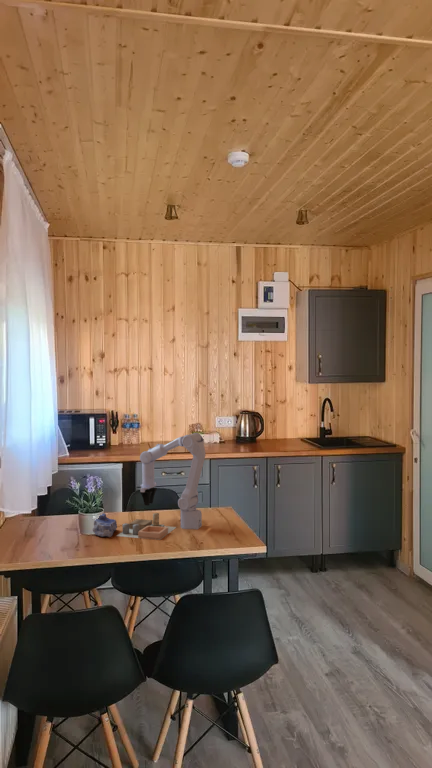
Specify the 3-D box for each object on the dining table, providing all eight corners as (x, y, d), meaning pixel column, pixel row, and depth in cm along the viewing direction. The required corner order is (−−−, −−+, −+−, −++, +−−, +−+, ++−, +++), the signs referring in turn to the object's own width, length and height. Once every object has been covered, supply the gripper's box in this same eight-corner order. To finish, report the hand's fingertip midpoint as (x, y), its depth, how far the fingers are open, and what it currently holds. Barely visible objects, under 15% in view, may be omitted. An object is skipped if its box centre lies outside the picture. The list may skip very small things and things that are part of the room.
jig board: (176, 528, 258) (176, 518, 258) (160, 541, 239) (160, 530, 239) (135, 525, 264) (135, 515, 264) (115, 537, 245) (115, 526, 245)
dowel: (160, 528, 256) (159, 513, 256) (157, 530, 254) (157, 514, 253) (154, 528, 257) (154, 512, 257) (152, 529, 254) (151, 514, 254)
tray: (168, 532, 249) (168, 527, 249) (159, 539, 240) (159, 533, 240) (147, 531, 252) (147, 525, 252) (138, 537, 243) (138, 531, 243)
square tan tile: (152, 525, 261) (152, 520, 261) (145, 530, 254) (145, 524, 254) (136, 524, 264) (136, 519, 264) (129, 528, 256) (129, 523, 256)
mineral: (94, 511, 256) (116, 509, 256) (96, 531, 257) (118, 529, 257) (88, 523, 241) (111, 522, 242) (90, 544, 243) (113, 542, 243)
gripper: (146, 472, 275) (147, 500, 275) (134, 478, 261) (134, 507, 261) (160, 473, 273) (160, 501, 273) (148, 479, 259) (148, 508, 259)
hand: (148, 504), depth 267 cm, fingers open, 3 cm apart
